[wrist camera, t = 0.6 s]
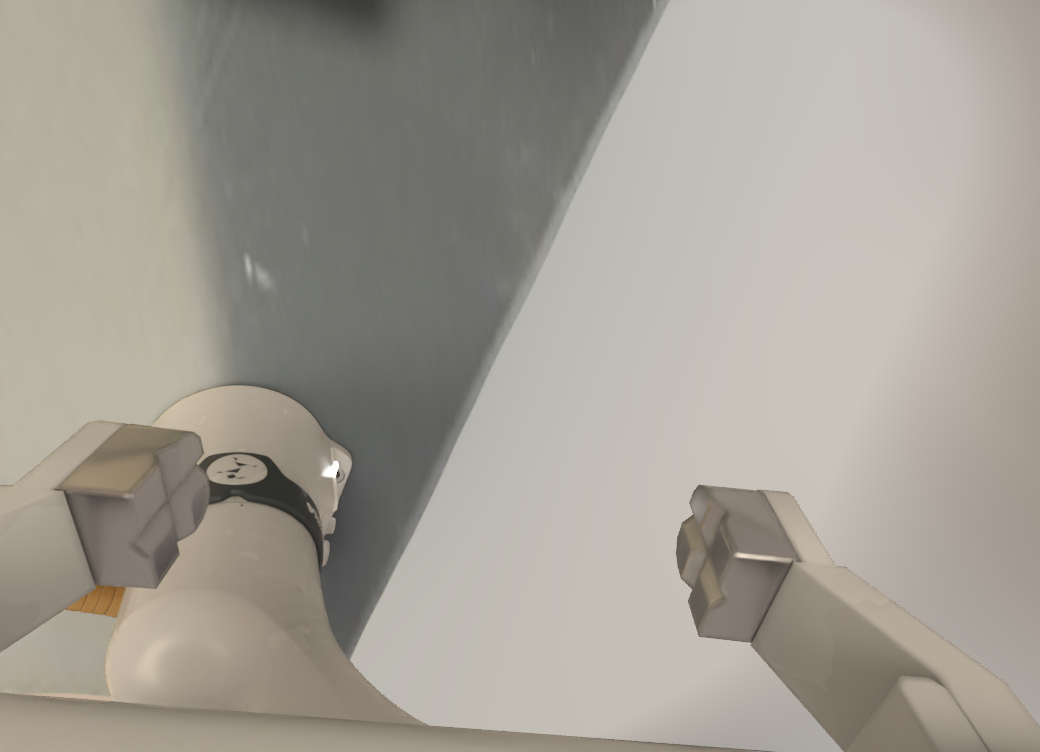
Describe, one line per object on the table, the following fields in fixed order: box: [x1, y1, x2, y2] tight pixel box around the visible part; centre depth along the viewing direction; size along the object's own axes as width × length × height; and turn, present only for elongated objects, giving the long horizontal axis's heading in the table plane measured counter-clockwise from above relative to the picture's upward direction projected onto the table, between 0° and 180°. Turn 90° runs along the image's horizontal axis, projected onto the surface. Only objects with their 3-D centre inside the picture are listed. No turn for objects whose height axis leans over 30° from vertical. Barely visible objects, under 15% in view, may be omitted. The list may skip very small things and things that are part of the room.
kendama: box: [66, 585, 126, 617], centre depth 45 cm, size 8×6×18 cm
